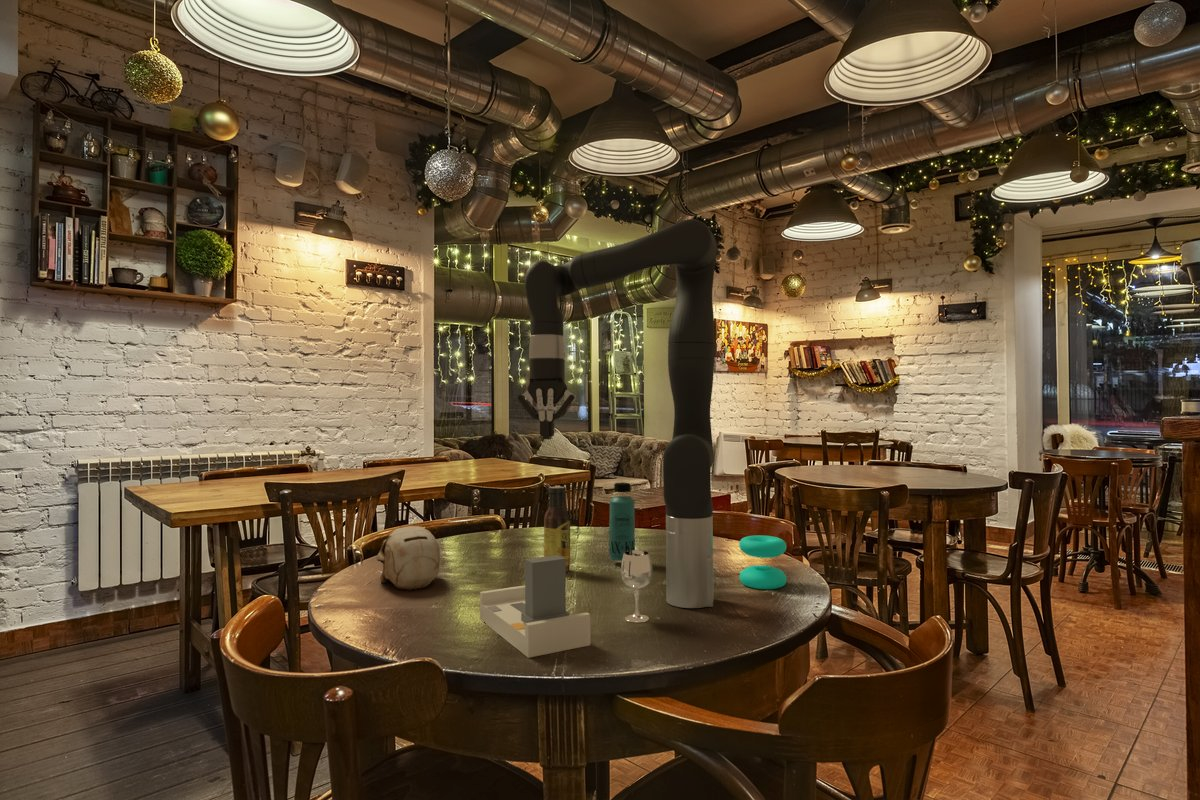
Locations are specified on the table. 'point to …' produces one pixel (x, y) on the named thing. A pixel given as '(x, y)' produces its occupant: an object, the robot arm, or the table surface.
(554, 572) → the switch tab
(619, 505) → the beverage bottle
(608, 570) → the table surface
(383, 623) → the table surface
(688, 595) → the robot arm
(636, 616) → the wineglass
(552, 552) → the sauce bottle
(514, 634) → the tray
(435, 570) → the coin bank
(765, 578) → the donuts
